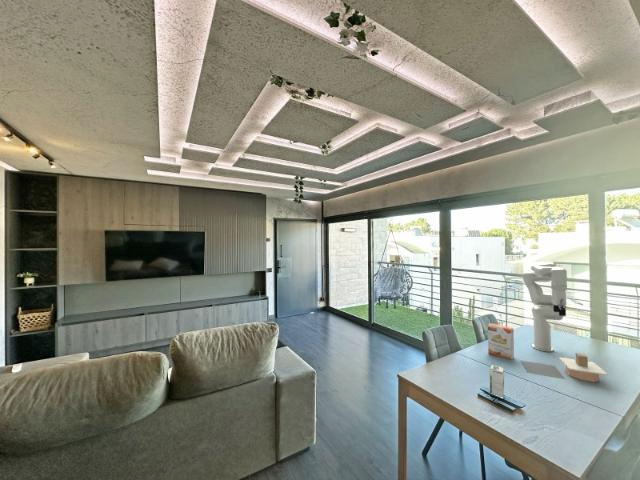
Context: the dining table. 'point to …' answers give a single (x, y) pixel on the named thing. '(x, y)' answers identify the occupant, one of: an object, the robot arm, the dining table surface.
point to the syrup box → (497, 380)
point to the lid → (582, 364)
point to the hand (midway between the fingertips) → (559, 313)
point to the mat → (541, 369)
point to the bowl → (583, 375)
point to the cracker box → (501, 341)
